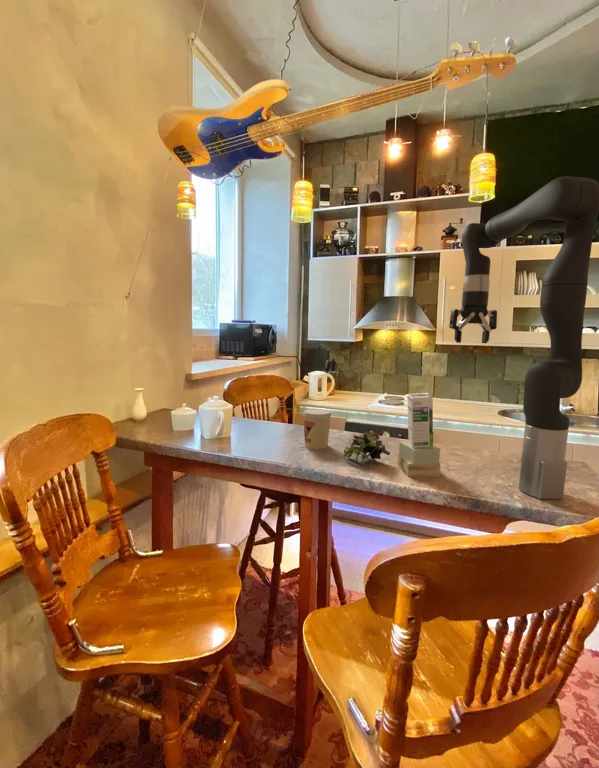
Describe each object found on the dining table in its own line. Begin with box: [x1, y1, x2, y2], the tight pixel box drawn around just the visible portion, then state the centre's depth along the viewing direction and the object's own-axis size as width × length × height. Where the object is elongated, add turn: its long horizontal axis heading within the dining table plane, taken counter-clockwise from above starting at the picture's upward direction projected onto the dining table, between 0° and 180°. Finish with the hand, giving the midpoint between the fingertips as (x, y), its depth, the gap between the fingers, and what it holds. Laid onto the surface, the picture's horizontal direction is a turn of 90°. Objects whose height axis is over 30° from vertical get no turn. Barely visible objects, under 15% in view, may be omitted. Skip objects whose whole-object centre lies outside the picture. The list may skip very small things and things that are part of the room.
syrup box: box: [406, 392, 434, 448], centre depth 113 cm, size 6×6×14 cm
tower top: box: [398, 440, 441, 464], centre depth 116 cm, size 8×8×4 cm
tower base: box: [397, 453, 441, 478], centre depth 117 cm, size 9×9×4 cm
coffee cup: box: [302, 408, 332, 450], centre depth 138 cm, size 9×9×12 cm
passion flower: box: [343, 431, 391, 467], centre depth 122 cm, size 11×11×12 cm
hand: (471, 342), depth 129 cm, fingers open, 8 cm apart
